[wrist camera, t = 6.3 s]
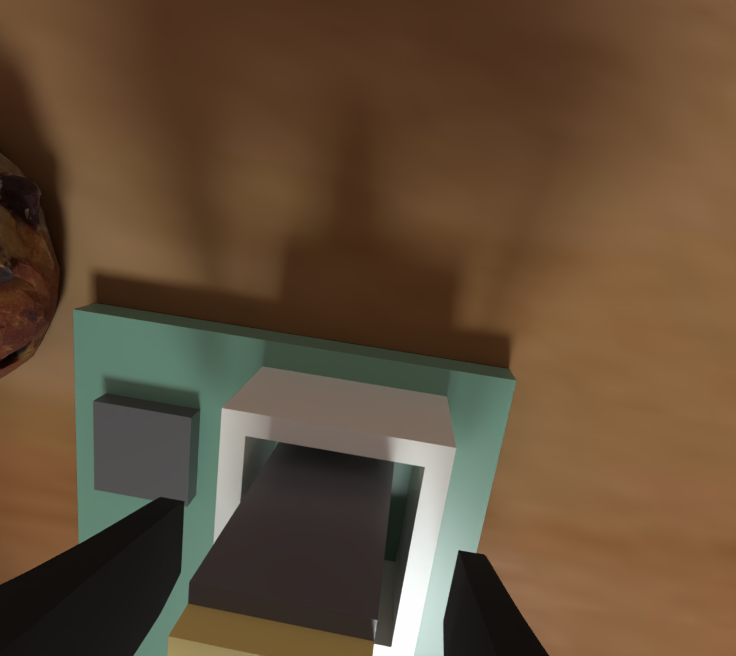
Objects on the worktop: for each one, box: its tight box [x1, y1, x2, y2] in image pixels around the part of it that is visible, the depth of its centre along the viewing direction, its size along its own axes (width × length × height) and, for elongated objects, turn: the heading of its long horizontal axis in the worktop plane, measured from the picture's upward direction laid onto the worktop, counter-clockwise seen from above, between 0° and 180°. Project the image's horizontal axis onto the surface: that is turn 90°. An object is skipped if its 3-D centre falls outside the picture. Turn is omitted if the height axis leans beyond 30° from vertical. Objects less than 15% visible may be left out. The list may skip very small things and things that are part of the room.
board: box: [73, 303, 516, 656], centre depth 15 cm, size 16×13×2 cm
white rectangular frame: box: [213, 366, 456, 656], centre depth 13 cm, size 6×5×3 cm
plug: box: [168, 442, 394, 656], centre depth 10 cm, size 4×3×6 cm
